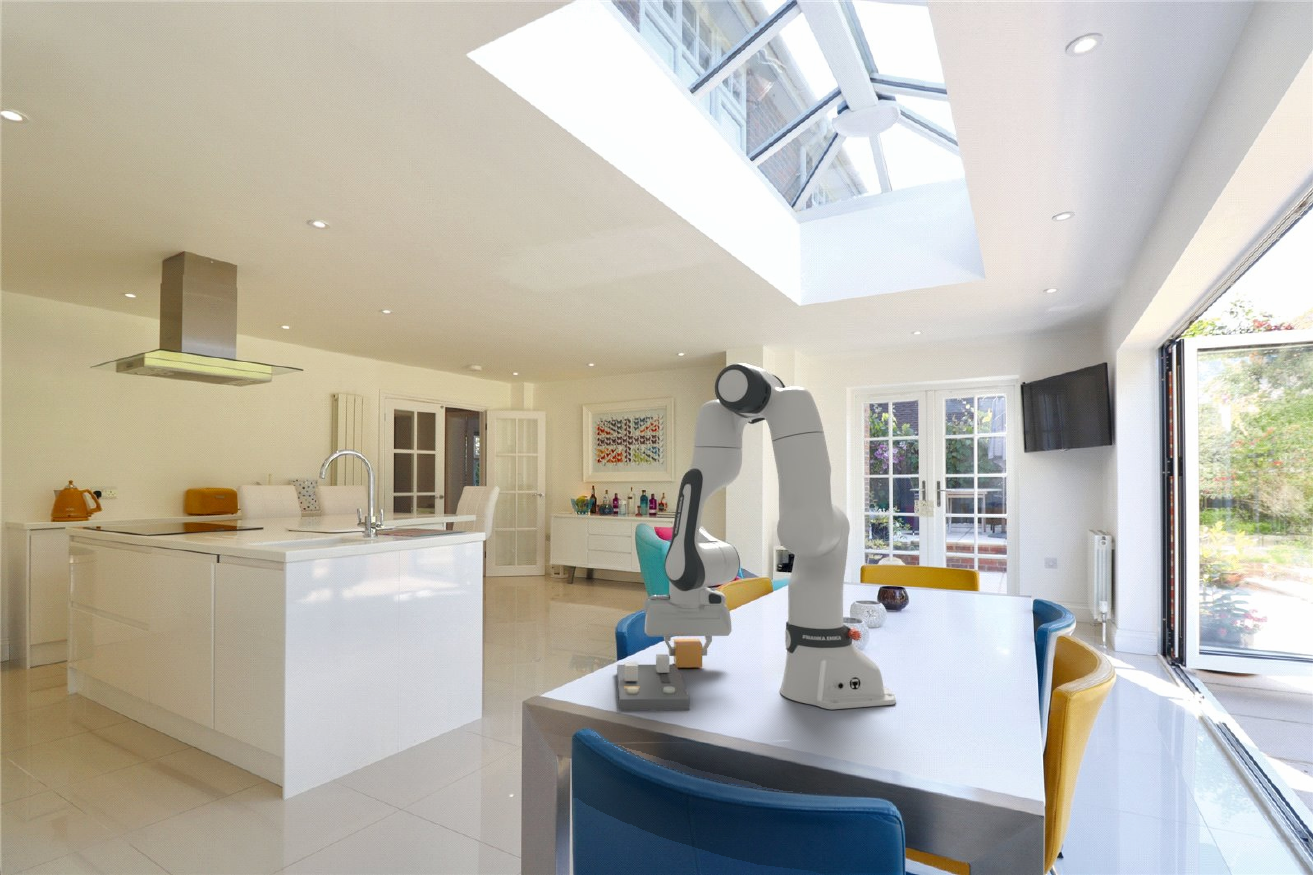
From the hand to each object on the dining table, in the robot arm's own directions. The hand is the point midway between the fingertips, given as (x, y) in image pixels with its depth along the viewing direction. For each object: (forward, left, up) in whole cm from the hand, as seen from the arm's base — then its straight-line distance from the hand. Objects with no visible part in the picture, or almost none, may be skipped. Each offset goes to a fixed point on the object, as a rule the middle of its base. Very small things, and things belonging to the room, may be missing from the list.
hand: (687, 655), depth 152 cm
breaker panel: (+10, +18, -3) cm, 21 cm away
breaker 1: (+14, +18, 0) cm, 23 cm away
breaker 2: (+7, +12, 0) cm, 14 cm away
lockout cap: (0, 0, -2) cm, 2 cm away
